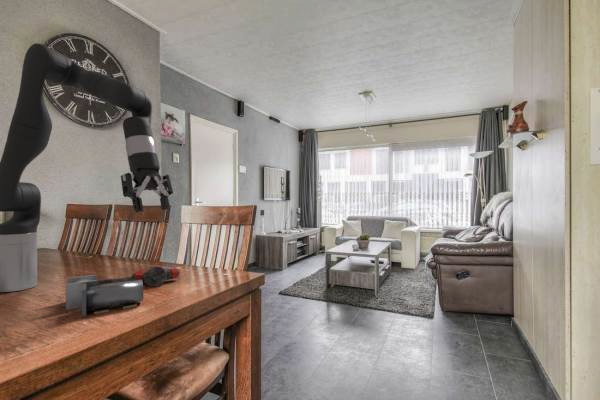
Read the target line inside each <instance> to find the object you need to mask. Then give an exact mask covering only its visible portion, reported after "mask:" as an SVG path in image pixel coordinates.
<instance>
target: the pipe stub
mask: <svg viewBox="0 0 600 400" xmlns="http://www.w3.org/2000/svg"><path fill="white" fill-rule="evenodd" d="M143 301H144V284H143V282H142V280H137V281H126V282H117V283H109V284H100V285H97V286H94V287H87V283H85V284H83V285H82V308H81V318H87V312H91V311H93V314H94V315H98V314H99V315H100V314H104V313H109V312H110V309H109V308H114V307H118V306H122V309H123V310H126V309H131V308H135V307H138V305H137V303H141V302H143Z"/></svg>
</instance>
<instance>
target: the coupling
mask: <svg viewBox="0 0 600 400" xmlns="http://www.w3.org/2000/svg"><path fill="white" fill-rule="evenodd" d="M97 276H98V275H97V273H95V274H91V275H80V276H75V277H73V276H72V277H68V278H67V283H66V284H65V311H70V310H76V309H82V285H83V284H85V283H87V287H94V286H98V285H97V280H98V277H97Z"/></svg>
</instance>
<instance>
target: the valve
mask: <svg viewBox="0 0 600 400" xmlns="http://www.w3.org/2000/svg"><path fill="white" fill-rule="evenodd" d="M180 274H181V273H180V270H179V269H178V268H175V267H174V268H168V269H167V268H162V266H156V265H155V266H152V267H150V268H148V269H147V270H146V272H145V271H144V270H136V272H134V273H132V275H131V276H125V277H116V278H115V277H114V278H106V279H99V280H98V279H97V286H101V285H108V284H115V283H123V282H130V281H137V280H142V282H143V285H144V284H147V286H149V287H159V286H160V287H161V286H162V285H163V284H164V283H165V282H166V281H167V280H174V279H177V278H179V276H180Z"/></svg>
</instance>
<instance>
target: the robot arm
mask: <svg viewBox="0 0 600 400" xmlns="http://www.w3.org/2000/svg"><path fill="white" fill-rule="evenodd" d="M45 80H46V81H49V82H51V83H53V84H56V85H60V86H67V87H71V88H76V89H80V90H82V91H84V92H85V93H86V94H89V95H90V96H93V97H95V98H97V99H98V100H99V99H100V100H102V101H103V102H107V103H109V104H111V105H112V106H115V107H117V108H119V109H123V110H125V111H128V112H130V113H131V116H129V117H127V118H125V119H124V120H123V122H122V129H123V133H124V141H125V150H126V156H127V161H128V166H129V171H130V172H126V173H123V174H122V175H120V181H121V189H122V195H123V197H125V198H130V199H131V202H132V207H133V210H134V212H135V213H137V214H138V213H142V212H144V207H143V205H144V204H143V200H142V197H141V195H142V193H143V192H144V191H153V193H155V194H157V196H159V202H160V206H161V210H162V211H168V210H170V202H169V196H171V195H173V194H174V190H173V187H172V186H173V185H172V182H171V178H170V175H169V174H165V175H161V173H160V172H159V171H160V168H161V165H160V161H159V156H158V151H157V146H156V143H155V140H154V136H153V131H152V127H151V123H152V115H153V113H152V112H153V103H152V100H151V98H150V96H149V94H148V93H147V92H146V91H144V90H142V89H140V88H138V87H135V86H134V85H132V84H129V83H127V82H125V81H122V80H119V79H115V78H113V77H111V76H109V75H106V74H103V73H101V72H99V71H95V70H88V69H86V68H84V67H82V66H80V65H79V64H78V63H76V62H74V61H73V60H71V59H70V58H69V57H67V56H66V55H64V54H62V53H60V52H58V51H56V50H54V49H53V48H51V47H48V46H46V45H45V44H42V43H33V44H31V45H30V46H29V47H28V49H27V51H26V53H25V55H24V59H23V64H22V72H21V78H20V83H19V84H20V85H19V89H18V90H19V92H18V96H17V99H16V105H15V108H14V110H13V111H14V112H13V115H12V117H11V119H10V120H11V121H10V125H9V129H8V131H7V137H6V141H5V145H4V149H3V152H2V155H1V157H0V213H1V212H2V213H3V212H4V213H5V212H8V213H10V212H13V213H12V214H13V215H12V217H10V218H9V219H8V220H6V221H4V222H1V223H0V293H10V292H19V291H24V290H29V289H32V288H35V287H37V286H38V226H39V224H40V222H41V208H42V195H41V194H42V193H41V191H40V189H39V188H38V186H37V185H36V184H34V183H32V182H22V181H20V180H21V177H22V175H23V173H24V171H25V170H26V168H27V167H28V166H29V164H30V163H31V162H33V161H34V160H35V159H36V158H37V157H38V156H40V155H41V154H42V153H43V152H44V151H45V149H46V148H47V146H48V144H49V141H50V137H51V134H52V131H53V123H52V121H53V120H52V118H51V116H50V113H49V110H48V108H47V105H46V103H45V99H44V87H45ZM133 183H134V186H133Z"/></svg>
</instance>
